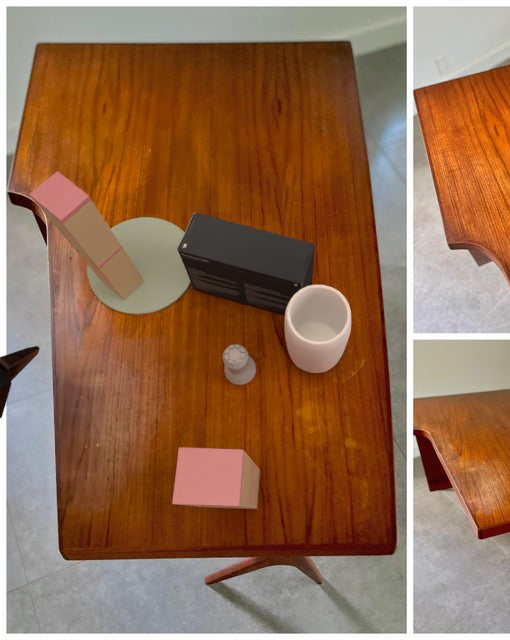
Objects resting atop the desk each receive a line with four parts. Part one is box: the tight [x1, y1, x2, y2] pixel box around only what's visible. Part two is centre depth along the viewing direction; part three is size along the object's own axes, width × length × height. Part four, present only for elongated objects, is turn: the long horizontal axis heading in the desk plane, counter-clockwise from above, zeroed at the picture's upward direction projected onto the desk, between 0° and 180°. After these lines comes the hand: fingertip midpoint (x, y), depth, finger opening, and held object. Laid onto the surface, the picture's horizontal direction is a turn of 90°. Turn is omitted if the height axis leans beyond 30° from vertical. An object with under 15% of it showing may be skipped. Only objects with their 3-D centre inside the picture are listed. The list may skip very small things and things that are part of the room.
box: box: [177, 211, 316, 316], centre depth 74 cm, size 17×7×12 cm, turn 74°
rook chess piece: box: [222, 343, 257, 386], centre depth 71 cm, size 4×4×8 cm
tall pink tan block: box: [171, 446, 261, 510], centre depth 59 cm, size 6×5×22 cm
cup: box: [283, 284, 352, 374], centre depth 70 cm, size 8×8×14 cm
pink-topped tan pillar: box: [29, 170, 145, 300], centre depth 68 cm, size 4×5×22 cm
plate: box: [86, 216, 192, 316], centre depth 80 cm, size 16×16×1 cm
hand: (11, 325), depth 62 cm, fingers open, 9 cm apart
